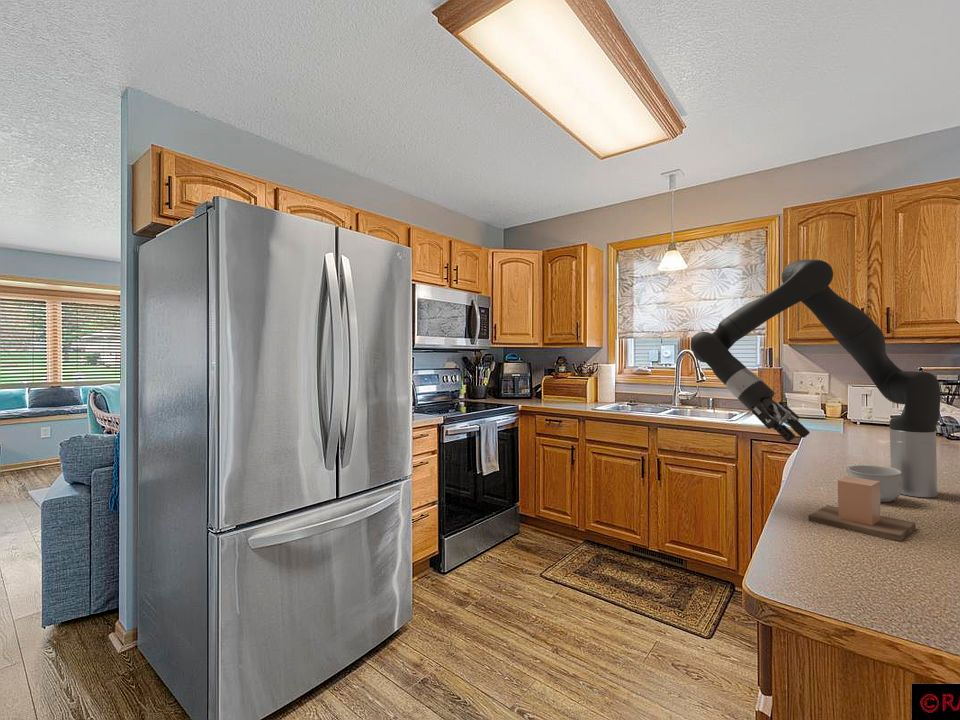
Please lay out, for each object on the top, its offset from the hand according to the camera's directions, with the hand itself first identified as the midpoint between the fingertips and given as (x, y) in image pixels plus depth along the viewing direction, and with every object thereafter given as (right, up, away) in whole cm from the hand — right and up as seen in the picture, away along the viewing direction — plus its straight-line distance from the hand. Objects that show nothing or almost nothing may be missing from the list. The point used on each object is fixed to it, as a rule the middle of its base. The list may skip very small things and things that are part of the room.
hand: (799, 437), depth 114 cm
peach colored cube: (+7, -17, -10) cm, 20 cm away
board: (+7, -18, -10) cm, 21 cm away
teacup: (+26, -18, +10) cm, 33 cm away
